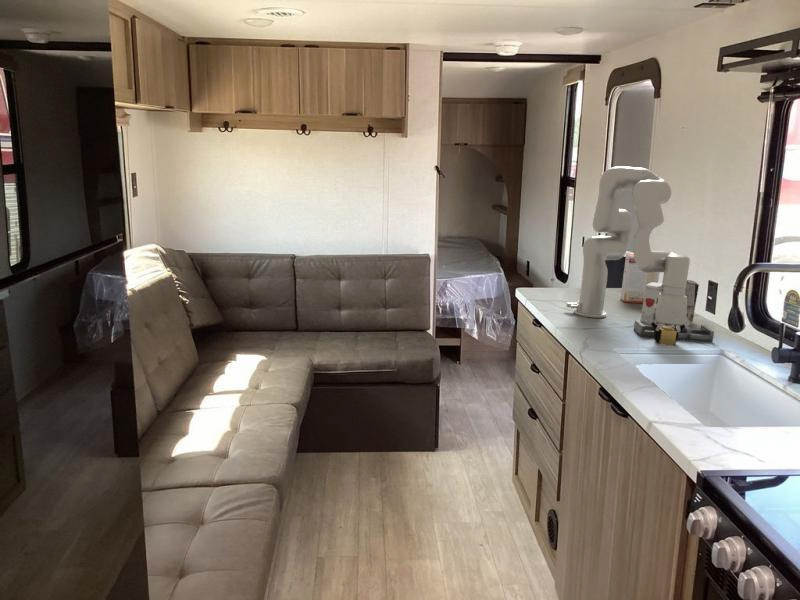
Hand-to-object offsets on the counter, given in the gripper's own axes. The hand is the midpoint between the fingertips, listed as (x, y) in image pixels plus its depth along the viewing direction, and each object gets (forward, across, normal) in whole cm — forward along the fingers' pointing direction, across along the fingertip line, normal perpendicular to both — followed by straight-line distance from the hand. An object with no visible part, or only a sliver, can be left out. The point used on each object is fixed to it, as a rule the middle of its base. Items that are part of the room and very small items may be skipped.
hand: (665, 341), depth 224 cm
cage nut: (+1, 0, 0) cm, 1 cm away
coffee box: (+1, +17, +34) cm, 38 cm away
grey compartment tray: (+1, +6, +10) cm, 11 cm away
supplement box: (+1, +5, +29) cm, 30 cm away
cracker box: (+1, +8, +65) cm, 66 cm away
